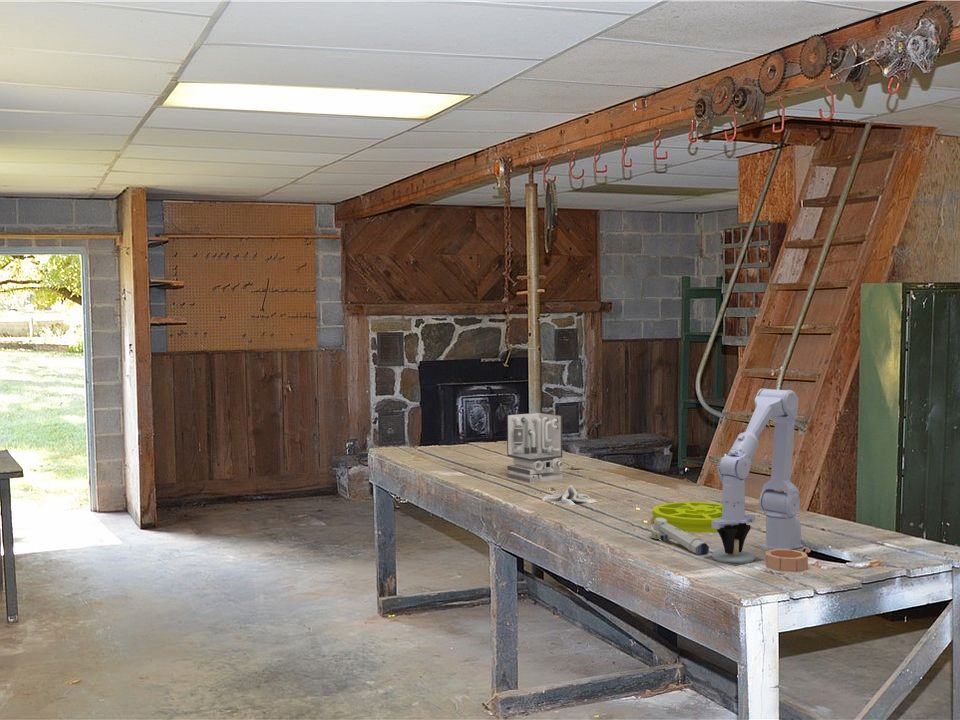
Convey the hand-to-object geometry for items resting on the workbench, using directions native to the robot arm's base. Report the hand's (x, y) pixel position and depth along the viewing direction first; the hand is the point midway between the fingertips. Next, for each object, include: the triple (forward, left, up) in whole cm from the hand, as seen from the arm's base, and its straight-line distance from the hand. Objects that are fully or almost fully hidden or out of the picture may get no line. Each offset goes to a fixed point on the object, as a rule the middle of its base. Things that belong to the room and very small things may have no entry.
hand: (733, 552), depth 259 cm
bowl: (-5, +13, -2) cm, 14 cm away
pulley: (-27, -38, -3) cm, 47 cm away
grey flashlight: (0, -20, -2) cm, 20 cm away
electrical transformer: (-37, -134, -2) cm, 139 cm away
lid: (0, 0, -2) cm, 2 cm away
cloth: (-17, -88, -3) cm, 90 cm away
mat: (0, 0, -2) cm, 2 cm away
